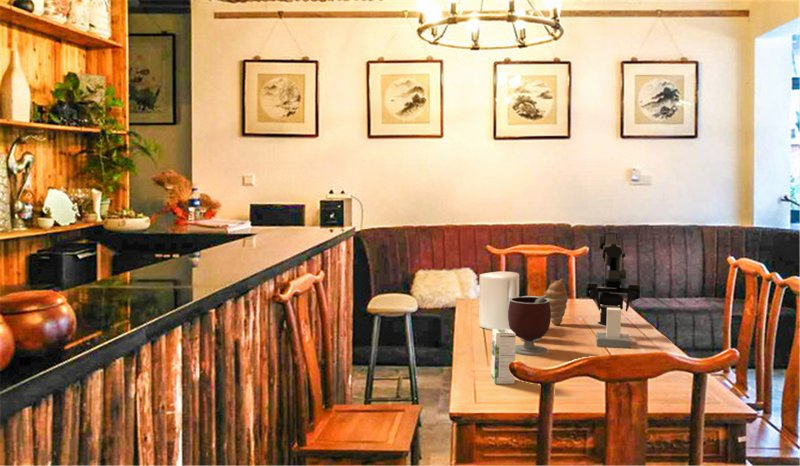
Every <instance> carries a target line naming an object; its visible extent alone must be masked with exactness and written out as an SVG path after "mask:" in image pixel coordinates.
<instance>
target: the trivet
mask: <svg viewBox="0 0 800 466" xmlns="http://www.w3.org/2000/svg"><path fill="white" fill-rule="evenodd" d="M595 339H596V347H602V348H603V347H604V348H619V349H621V348H622V349H632V347H631V346H632V344H631V343H632V340H631V336H630V333H620V338H613V337H607V336H606V332H599V331H598V332H596V338H595Z"/></svg>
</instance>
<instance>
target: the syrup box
mask: <svg viewBox="0 0 800 466" xmlns="http://www.w3.org/2000/svg"><path fill="white" fill-rule="evenodd" d="M491 331H492V333H491V336H492V337H491V363H490V365H491V366H490V367H491V368H490V369H491V373H490V375H491V376H490V379H491V380H492V382H493V383H494V385H508V384H511V385H512V384H515V381H516V379H515V378H516V377H515V378H514V377H513V376H512V375H511V374H510V372H509V369H508V365H509V363H510V362H513V361H515V362H516V354H515V346H516V345H517V343H516V340H517V338H516V337H517V336H516V333H514V332H513V331H512V330H511V329H493V330H491Z"/></svg>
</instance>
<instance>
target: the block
mask: <svg viewBox="0 0 800 466" xmlns="http://www.w3.org/2000/svg"><path fill="white" fill-rule="evenodd" d="M605 326H606V327H605V333H606V336H607V337H613V338H620V334H621V328H622V327H621V326H622V309H621V308H608V307H607V325H605Z"/></svg>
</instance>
